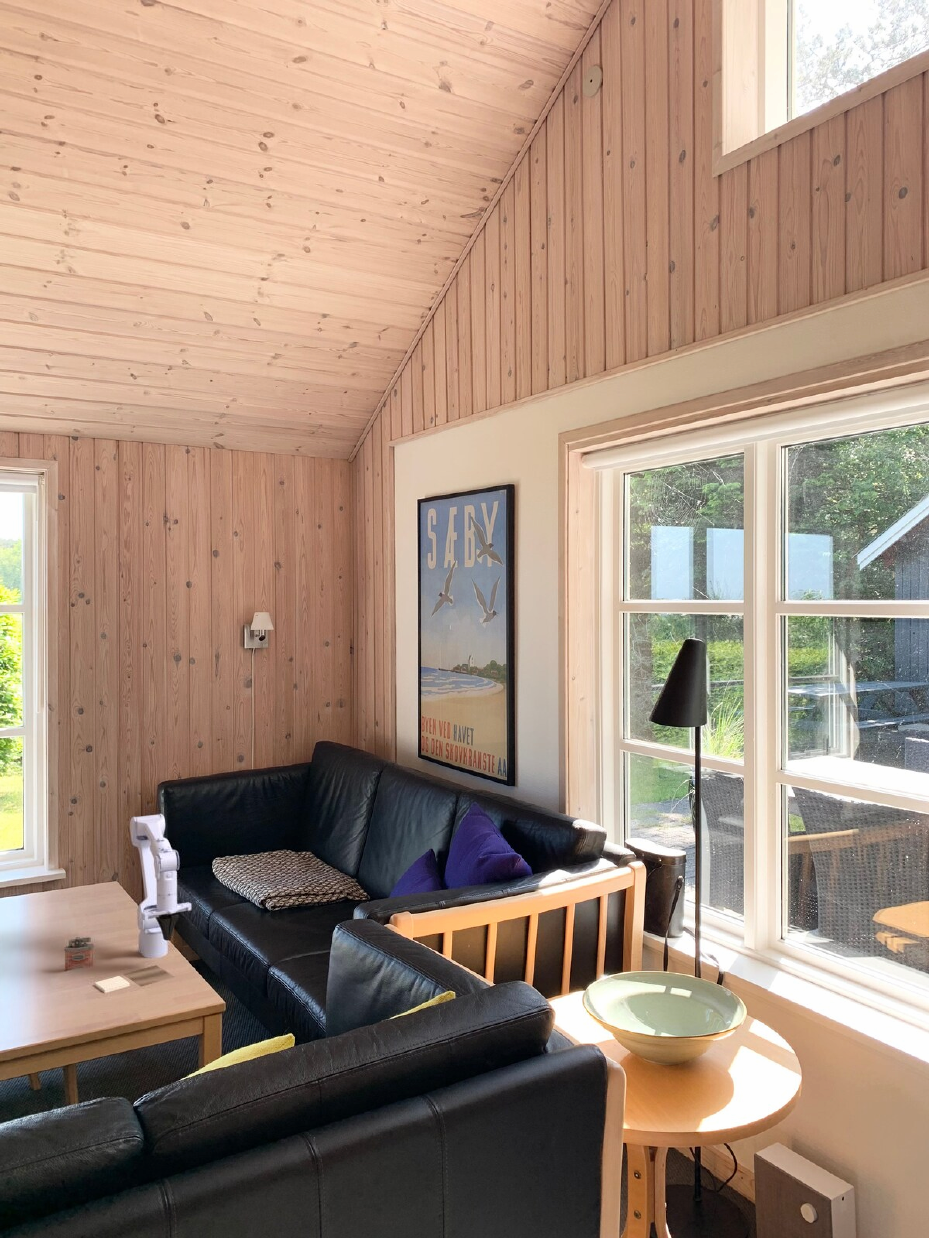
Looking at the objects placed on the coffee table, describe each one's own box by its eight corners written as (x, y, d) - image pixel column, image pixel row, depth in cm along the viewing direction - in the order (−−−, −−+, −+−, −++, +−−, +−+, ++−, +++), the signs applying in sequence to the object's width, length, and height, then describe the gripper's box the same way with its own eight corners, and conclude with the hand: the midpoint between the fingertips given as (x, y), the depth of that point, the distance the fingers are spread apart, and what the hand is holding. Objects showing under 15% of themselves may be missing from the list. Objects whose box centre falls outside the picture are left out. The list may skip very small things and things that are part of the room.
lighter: (63, 974, 273) (63, 940, 273) (65, 970, 276) (65, 937, 276) (92, 971, 275) (92, 938, 275) (94, 967, 278) (94, 934, 278)
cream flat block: (94, 989, 262) (94, 982, 262) (119, 982, 266) (119, 975, 266) (104, 996, 257) (104, 989, 257) (129, 989, 261) (129, 982, 261)
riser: (123, 979, 270) (123, 974, 270) (156, 970, 277) (156, 965, 277) (141, 991, 261) (141, 986, 261) (174, 981, 268) (174, 976, 268)
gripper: (149, 901, 265) (149, 948, 265) (196, 890, 275) (196, 936, 275) (138, 896, 270) (138, 942, 270) (184, 886, 280) (185, 931, 280)
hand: (167, 939), depth 273 cm, fingers closed
